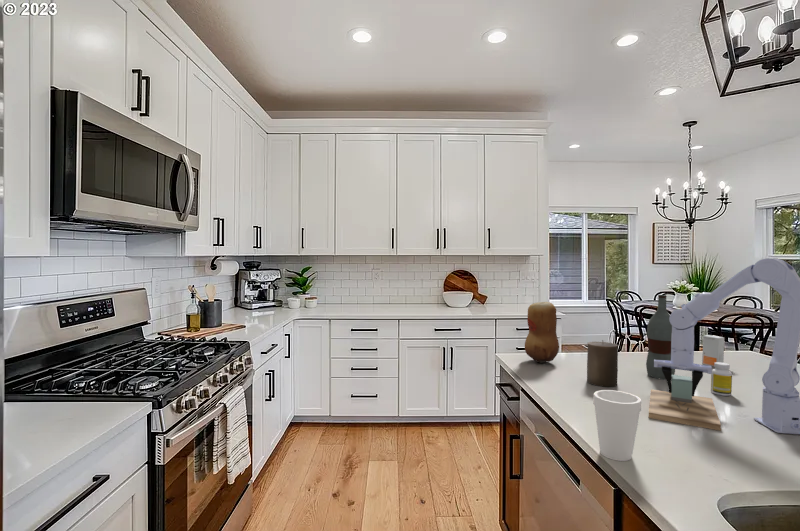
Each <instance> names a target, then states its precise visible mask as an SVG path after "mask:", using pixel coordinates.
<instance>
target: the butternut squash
mask: <svg viewBox="0 0 800 531" xmlns="http://www.w3.org/2000/svg"><path fill="white" fill-rule="evenodd" d="M557 321H558V320H557V308H556V306H555V305H554V304H553V303H552V302H550V301H540V302H539V301H538V302H535V303H531V304H530V305H529V306H528V308H527V326H528V329H529V330H528V334H527V336H526V337H525V341H524V351H525V353H526V355H527V356H528V357H530V358H531V359H532V360H533V361H535V362H537V363H540V364H541V363H543V364H544V363H549V362H552V361H553V360H554V359H556V357H557V355H558V353H559V350H560V344H559V338H558V336H557V325H558V324H557Z"/></svg>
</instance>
